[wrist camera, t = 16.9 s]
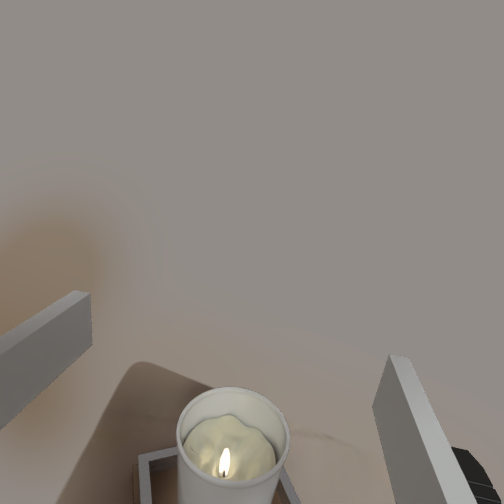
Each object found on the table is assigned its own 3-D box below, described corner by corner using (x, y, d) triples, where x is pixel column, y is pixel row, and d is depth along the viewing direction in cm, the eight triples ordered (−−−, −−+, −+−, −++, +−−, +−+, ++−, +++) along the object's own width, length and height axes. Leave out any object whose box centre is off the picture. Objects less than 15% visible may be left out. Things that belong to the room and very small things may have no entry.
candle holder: (201, 457, 38) (210, 373, 34) (281, 494, 35) (301, 408, 31) (147, 548, 29) (151, 449, 25) (248, 608, 26) (270, 508, 22)
